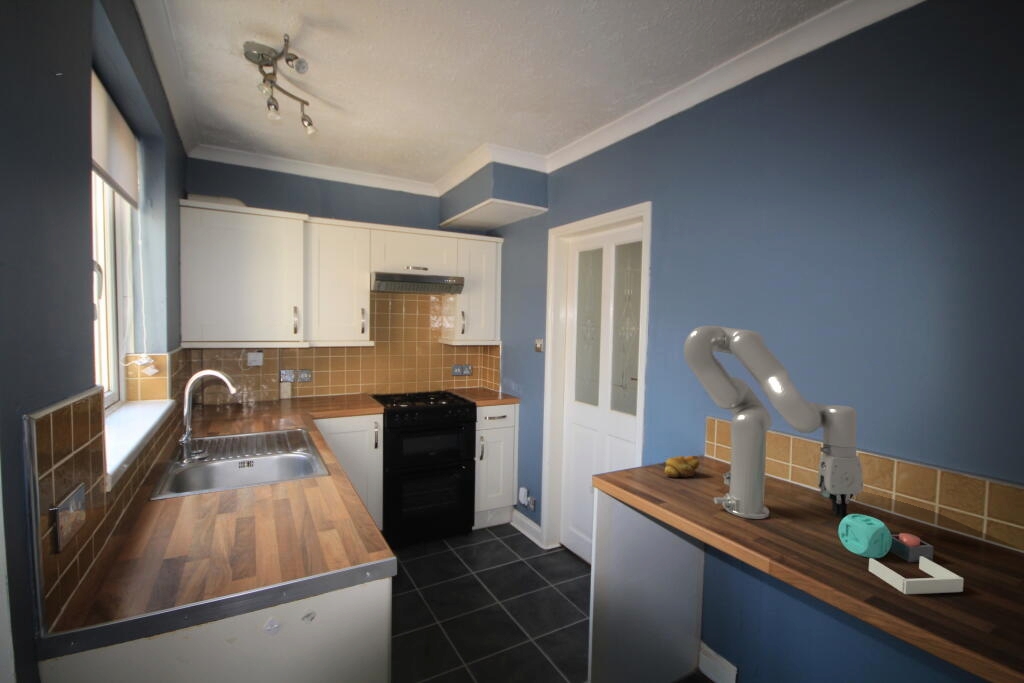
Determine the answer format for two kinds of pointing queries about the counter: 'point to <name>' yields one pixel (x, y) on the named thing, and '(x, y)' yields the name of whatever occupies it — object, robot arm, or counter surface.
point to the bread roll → (681, 466)
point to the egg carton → (727, 478)
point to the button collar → (911, 550)
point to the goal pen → (939, 584)
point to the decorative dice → (865, 535)
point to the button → (909, 539)
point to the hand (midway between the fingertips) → (839, 516)
